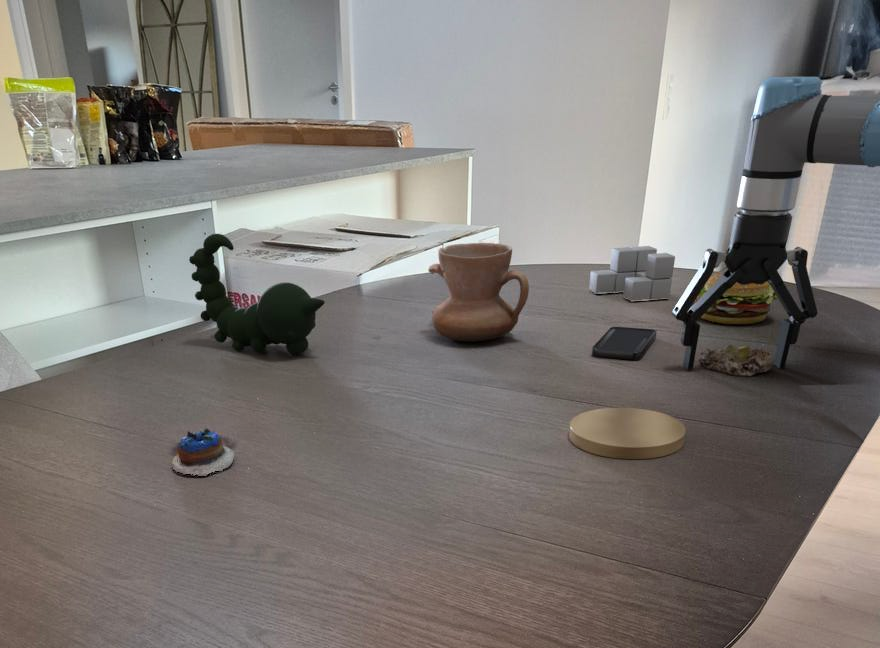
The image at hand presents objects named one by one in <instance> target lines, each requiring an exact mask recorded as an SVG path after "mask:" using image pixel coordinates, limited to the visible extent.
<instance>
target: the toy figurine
mask: <svg viewBox="0 0 880 648" xmlns="http://www.w3.org/2000/svg"><path fill="white" fill-rule="evenodd" d="M202 245H203V247H200V248H197V249H196V250H195V251H194V253H193V254H192V255H191V256H190V257H189V259H188V260H189V263H190V264H191V265H194V266H195V268H196V270H195V271H193V272H192V273H191V279H192V281H194V282H198V283H199V285H201V286H200V291H195V293H194V297H195V299H196V300H197V301H203V302H204V303H206V304H205V310H202V311H201V313H200V319H201V320H202V321H203V322H210V320H211V321H212V322H215V323H216V327H217V329H218V330H216V331H215V332H214V339H215V341H216V342H218V343H220V344H222V343H224V342H226V341H227V339H228V338H229V339H231V340H232V344H231V345H232V348H233V350H234V351H235V352H242V351H244V349H245V347H247V348H248V347H251V349H252V350H253V351H255V352H258V353H261V352H263V351H264V350H265V349H266V348H267V346H269V345H276V346H277V345H285V349H286V351H287V353H288V354H290V355H292V356H295V355H297V356H300V355H301V354H305V352H306V351H307V350H308V348H309V341H308V338H307V337H308V336H309V335H310V334H311V332H312V330H313V329H315V327H316V315H317V313H316V312H317V311H318V310H320V309H321V307H323V306H324V305H325V303H326V302H325V300H324V299H320V298H315V297H311V295H310V294H309V293H308V291H306V290H305V289H304V288H303V287H301V286H300V285H298V284H295V283H292V282H288V281H282V282H277V283H274V284H273V285H271V286H269V287H268V288H266V289H265V291H264V292H263V293H262V294H261V295H260V297H259V299H258V301H256V302H253V303H252V304H250V305H249V306H248V307H240V308H239V307H237V306H234V303H233V301H232V300H231V298H230V297H228V295H227V290H226V286H225V284H224V283H223V282H222V281H220V280H221V272H220V270H219V267H218V266H217V265H216V264H215V256H214V254H216V253H217V252H218V251H219V249H220V248H222V247H223V248H227V249H228V250H230V251H233V250H234V249H235V248H234V245H233V242H232V241H231V240H230V239H229V238H228V237H227V236H225V235H224V234H222V233H211V234H209V235H208V236H207V237H206V238H205V239H204V241H203V244H202ZM241 350H242V351H241ZM299 354H300V355H299Z"/></svg>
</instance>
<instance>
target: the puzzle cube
mask: <svg viewBox="0 0 880 648" xmlns="http://www.w3.org/2000/svg"><path fill="white" fill-rule="evenodd" d="M610 256H611V257H610V263H609V264H610V265H609V269H610V270H609V269H604V270H603V269H602V270H591V271H590V275H589V276H590V278H589V287H588V288H589V289H591V290H592V291H594V292H596V293H598V292H614V291H615V292H617V291H618V292H619V291H624V293H623V298H624V297H625V298H628V299H629V300H642V299H660V298H669V299H670V296H671V288H672V283H673V282H672V281H673V279H672V278H673V275H674V268H675V260H676V256H675V255H673V254H671V253H668V252H658V249H657V248H655V247H653V246H651V245H642V246H641V245H640V246H631V247H630V246H625V247H613V248H612V249H611V255H610ZM589 289H588V290H589Z"/></svg>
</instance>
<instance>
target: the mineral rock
mask: <svg viewBox="0 0 880 648" xmlns="http://www.w3.org/2000/svg"><path fill="white" fill-rule="evenodd" d="M774 358H775V357H774V355H773V354H770V352H769V351H768V350H764V349H759V348H754V349H751V346H750V345H749V344H748V345H747V344H746V345H742V346H736V345H732V344H729V345H727V346H725V347H724V348H722V347H721V348H719V349H717V348H716V349H710V348H704V349H703V351H701V352H700V358H699V359H698V363H699V364H700V365H701V366H703V367H704V368H705V369H707V370H711V371H715V372H722V373H727V374H729V375H732V376H739V377H743V376H747V377H753V376H754V375H756V374H760V373H766V372H767V371H769V370H771V368H772V367H773V365H774V364H773V362H774Z"/></svg>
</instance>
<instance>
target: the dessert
mask: <svg viewBox="0 0 880 648" xmlns="http://www.w3.org/2000/svg"><path fill="white" fill-rule="evenodd" d="M186 434H187V435H186V436H184V437H183V438H181V439H180V441H179V442H178V444H177V446H176V451H177V454H176V455H175V456H174V458H173V459H172V461H171V468H172V467H173V468H174V469H175V470H176V471H178V472H181V473H183V474H182V475H186V474H191V475H190V476H195V475H196V474H199V473H200V474H208V473H211V472H213V473H216V472H215V471H219V470H223V469H225V468H226V469H227V468H229V466H231V465H232V463H233V461H234V458H235V452H234V451H233V450H232V449H231V448H229V447H227V446H225V445H224V443H223V440H222V437H221V435H219V434H218V433H216V431H212V430H210V429H208V427H206V428H205V429H203V430H200V431H199V432H198V431H196V432H191V431H189V430H187V433H186ZM226 469H225V470H226ZM192 474H193V475H192Z"/></svg>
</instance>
